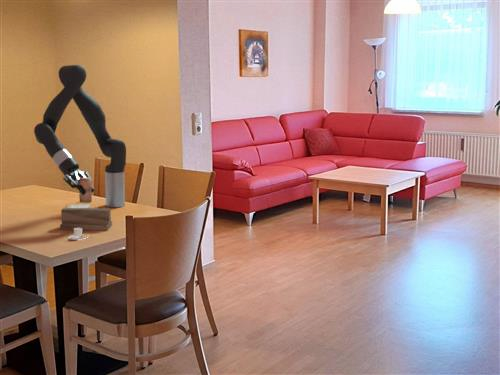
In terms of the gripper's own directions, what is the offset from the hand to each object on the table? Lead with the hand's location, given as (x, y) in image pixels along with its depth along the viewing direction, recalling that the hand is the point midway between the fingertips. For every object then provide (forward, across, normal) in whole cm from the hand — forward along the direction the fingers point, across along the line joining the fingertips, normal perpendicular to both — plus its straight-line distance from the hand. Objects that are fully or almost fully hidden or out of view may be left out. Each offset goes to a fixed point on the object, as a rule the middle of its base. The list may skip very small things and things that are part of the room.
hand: (88, 192), depth 261 cm
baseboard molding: (-4, +18, +27) cm, 33 cm away
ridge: (+10, 0, +12) cm, 16 cm away
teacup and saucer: (+14, -16, +9) cm, 23 cm away
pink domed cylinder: (+2, 0, +4) cm, 5 cm away
